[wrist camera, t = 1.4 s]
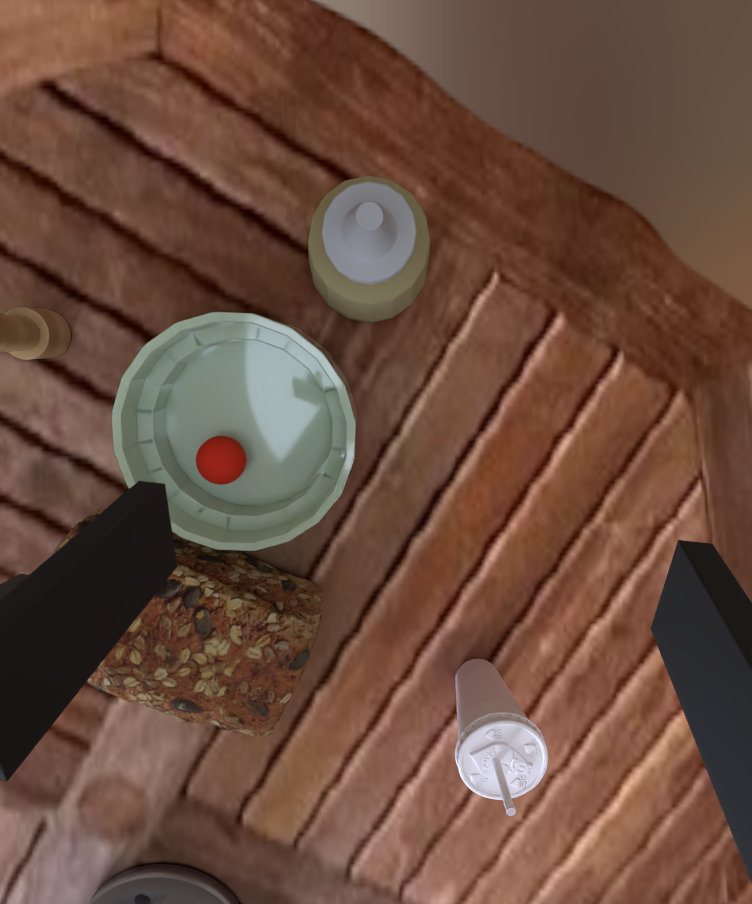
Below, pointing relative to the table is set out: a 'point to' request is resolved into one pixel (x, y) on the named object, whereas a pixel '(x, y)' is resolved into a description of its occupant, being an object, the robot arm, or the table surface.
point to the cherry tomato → (221, 460)
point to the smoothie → (495, 737)
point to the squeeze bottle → (369, 249)
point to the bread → (215, 640)
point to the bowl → (238, 427)
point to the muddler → (33, 333)
